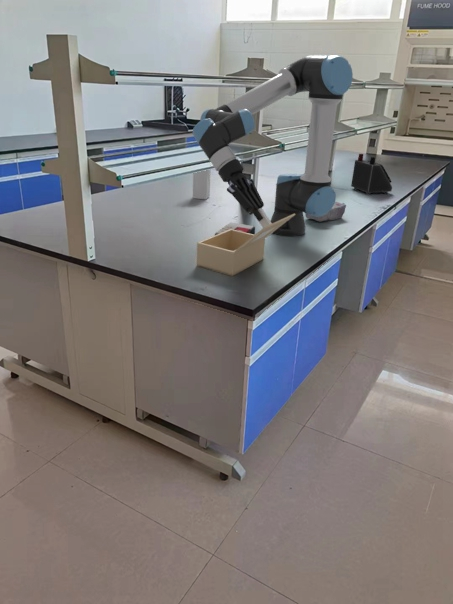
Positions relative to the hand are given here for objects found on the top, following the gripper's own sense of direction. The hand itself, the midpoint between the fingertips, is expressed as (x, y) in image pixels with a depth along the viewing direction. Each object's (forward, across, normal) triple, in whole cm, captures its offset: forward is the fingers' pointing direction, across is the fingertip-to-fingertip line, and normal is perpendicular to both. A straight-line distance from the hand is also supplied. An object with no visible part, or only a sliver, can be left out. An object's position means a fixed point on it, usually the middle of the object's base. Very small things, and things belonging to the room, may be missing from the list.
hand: (268, 227), depth 151 cm
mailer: (+1, 0, -20) cm, 20 cm away
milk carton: (-42, -68, -64) cm, 103 cm away
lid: (0, 0, -2) cm, 2 cm away
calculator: (-8, -24, -30) cm, 40 cm away
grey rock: (+3, -76, -19) cm, 79 cm away
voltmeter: (+1, -150, -20) cm, 152 cm away
